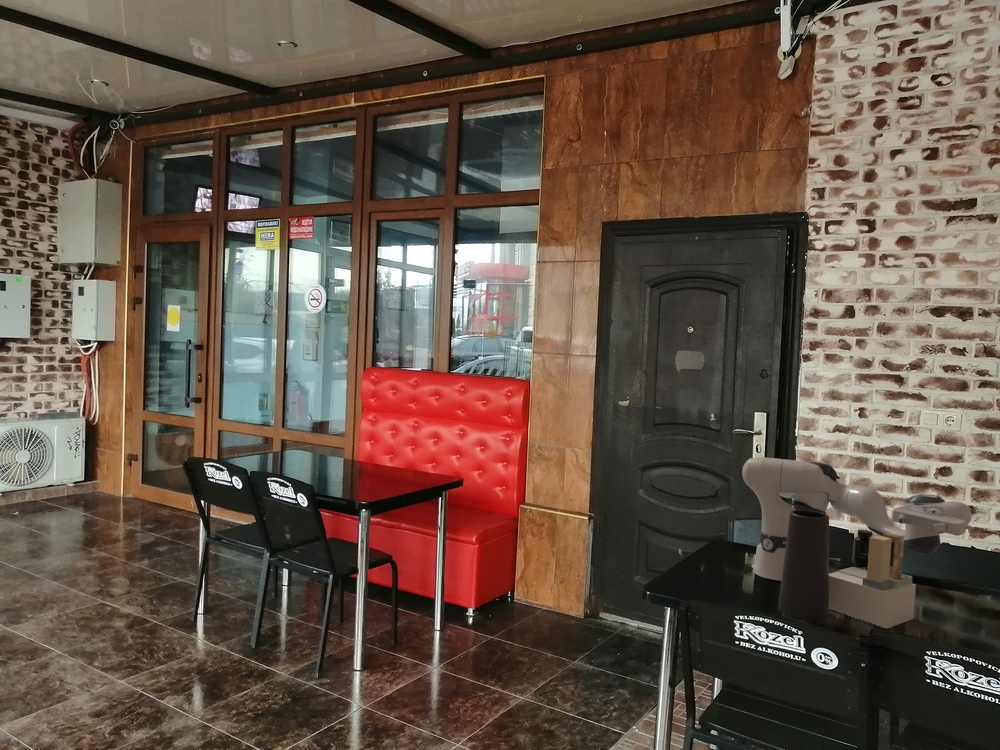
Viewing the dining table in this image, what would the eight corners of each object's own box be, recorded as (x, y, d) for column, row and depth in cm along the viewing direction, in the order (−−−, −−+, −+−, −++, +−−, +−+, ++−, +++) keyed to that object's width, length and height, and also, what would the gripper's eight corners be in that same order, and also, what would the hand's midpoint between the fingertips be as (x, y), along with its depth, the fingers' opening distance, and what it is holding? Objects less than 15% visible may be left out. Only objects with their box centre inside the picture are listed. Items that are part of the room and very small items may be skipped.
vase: (769, 610, 234) (775, 512, 232) (791, 600, 243) (797, 506, 242) (815, 624, 224) (822, 521, 222) (836, 613, 234) (843, 515, 232)
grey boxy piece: (850, 599, 247) (856, 522, 246) (913, 618, 232) (919, 536, 230) (823, 607, 238) (828, 527, 237) (886, 628, 223) (892, 543, 221)
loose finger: (885, 576, 236) (888, 531, 236) (905, 582, 232) (909, 535, 231) (874, 579, 233) (877, 533, 232) (895, 585, 228) (898, 538, 227)
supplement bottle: (864, 567, 282) (866, 534, 281) (847, 562, 288) (850, 529, 287) (877, 565, 285) (879, 532, 285) (860, 560, 291) (863, 527, 291)
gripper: (973, 537, 239) (951, 543, 230) (904, 521, 255) (881, 526, 247) (975, 516, 238) (953, 521, 230) (906, 502, 254) (883, 506, 246)
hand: (915, 524), depth 238 cm, fingers open, 8 cm apart
